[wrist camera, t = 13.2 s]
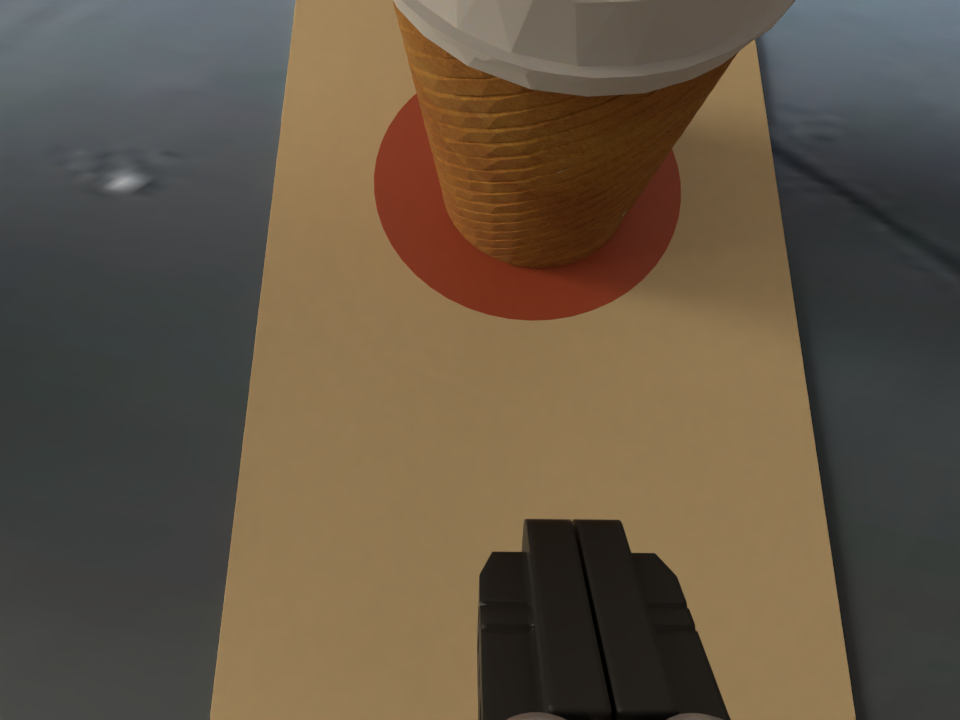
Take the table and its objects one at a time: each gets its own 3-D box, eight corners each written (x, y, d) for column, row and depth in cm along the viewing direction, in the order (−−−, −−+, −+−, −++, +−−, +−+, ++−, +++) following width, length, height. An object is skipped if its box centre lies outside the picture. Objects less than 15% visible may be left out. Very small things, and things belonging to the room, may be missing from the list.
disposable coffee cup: (713, 131, 26) (908, -249, 15) (614, 362, 23) (764, 106, 12) (467, 35, 27) (474, -386, 16) (342, 243, 24) (240, -95, 13)
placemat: (208, 736, 19) (207, 736, 19) (317, -176, 31) (317, -179, 31) (857, 739, 20) (859, 740, 20) (724, -162, 31) (725, -165, 31)
